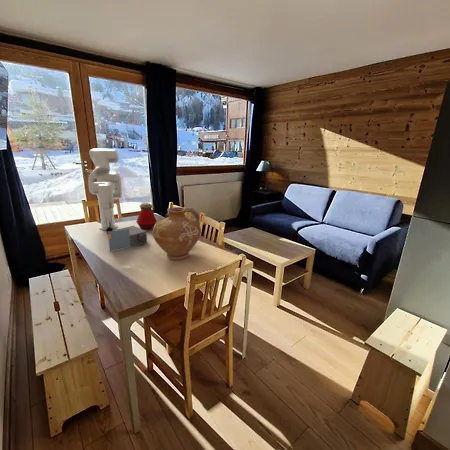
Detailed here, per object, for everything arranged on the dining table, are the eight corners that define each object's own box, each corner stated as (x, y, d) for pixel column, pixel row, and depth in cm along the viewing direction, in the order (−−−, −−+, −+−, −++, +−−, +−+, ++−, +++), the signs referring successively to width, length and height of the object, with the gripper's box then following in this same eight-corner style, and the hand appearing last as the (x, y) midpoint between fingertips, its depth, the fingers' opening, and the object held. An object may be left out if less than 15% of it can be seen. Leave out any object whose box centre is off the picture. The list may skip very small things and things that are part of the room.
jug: (150, 249, 159) (148, 203, 150) (193, 244, 170) (193, 201, 161) (157, 269, 135) (155, 216, 125) (207, 262, 146) (208, 212, 136)
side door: (110, 251, 153) (108, 232, 149) (109, 250, 154) (107, 231, 150) (130, 247, 160) (129, 229, 156) (130, 246, 161) (128, 228, 157)
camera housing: (118, 240, 171) (117, 229, 168) (134, 236, 180) (133, 225, 177) (132, 248, 160) (131, 236, 157) (149, 243, 169) (148, 232, 166)
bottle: (133, 229, 192) (131, 204, 186) (143, 224, 205) (141, 200, 198) (151, 232, 188) (149, 206, 182) (160, 227, 201) (159, 203, 194)
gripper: (100, 202, 153) (104, 230, 159) (98, 208, 139) (102, 238, 145) (114, 201, 155) (117, 229, 161) (113, 207, 142) (116, 237, 148)
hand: (110, 233), depth 153 cm, fingers closed
